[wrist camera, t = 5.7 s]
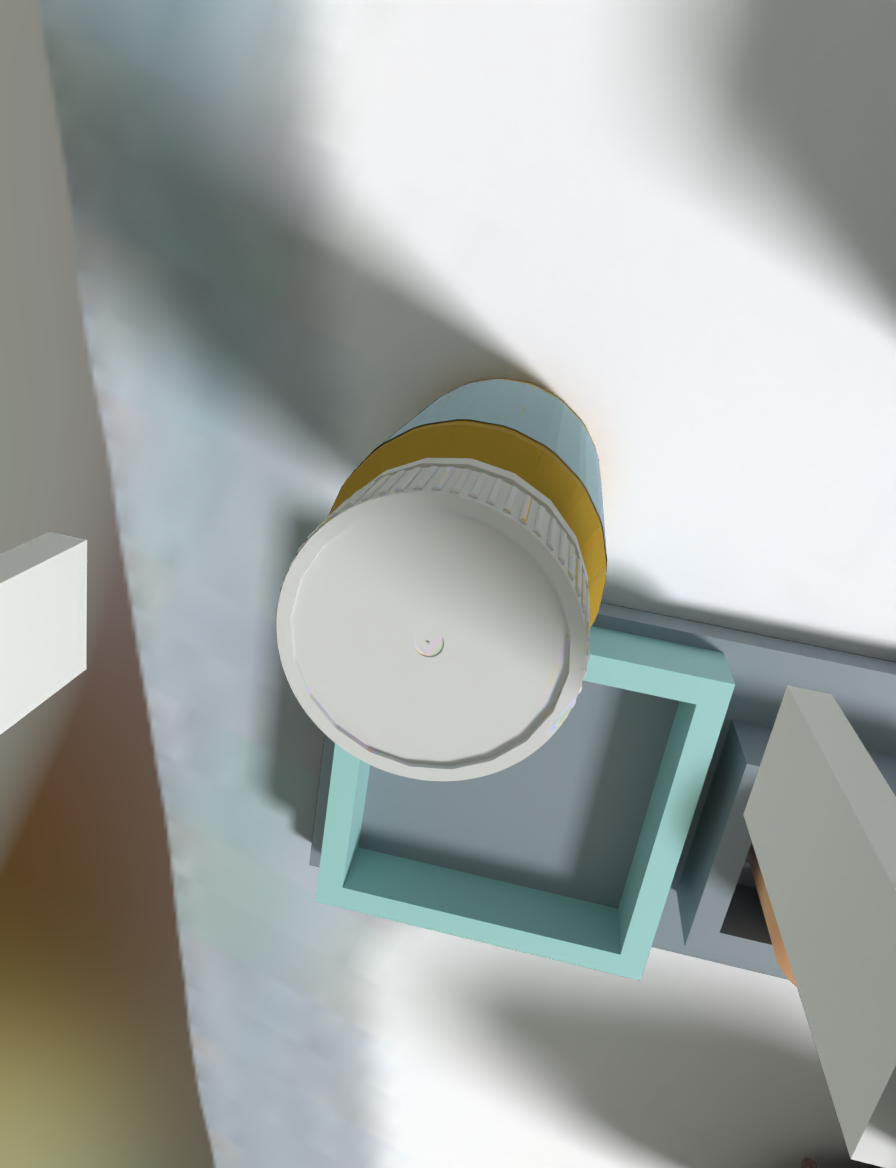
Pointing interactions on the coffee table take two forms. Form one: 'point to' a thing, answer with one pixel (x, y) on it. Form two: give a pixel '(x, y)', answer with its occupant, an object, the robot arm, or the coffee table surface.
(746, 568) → the coffee table surface
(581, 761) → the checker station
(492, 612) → the bottle
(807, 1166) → the alarm clock
